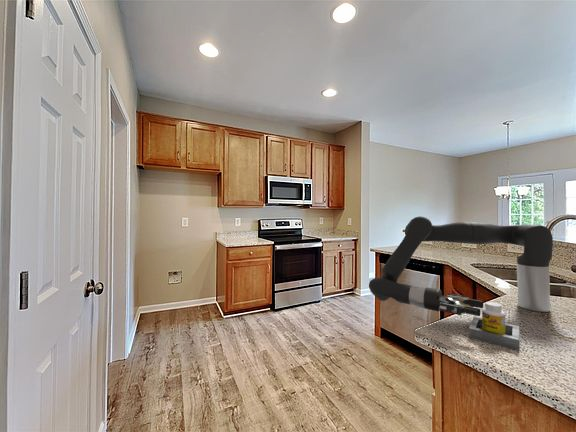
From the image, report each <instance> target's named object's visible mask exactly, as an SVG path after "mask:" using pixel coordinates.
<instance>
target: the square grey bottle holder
mask: <svg viewBox="0 0 576 432" xmlns="http://www.w3.org/2000/svg"><path fill="white" fill-rule="evenodd" d="M468 338H469V339H472V340H475V341H480V342H482V343H488V344H491V345H496V346H499V347H503V348H507V349H511V350H515V351H518V352H519V351H520V350H521V349H520V326H519V325H516V324H510V323H506V322H505V335H504V334H500V333H495V332H491V331H487V330H482V317H478V316H473V318H472V320H471V322H470V325H469V327H468Z"/></svg>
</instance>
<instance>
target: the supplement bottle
mask: <svg viewBox="0 0 576 432" xmlns="http://www.w3.org/2000/svg"><path fill="white" fill-rule="evenodd" d="M502 305H503V304H500V303H498V302H494V301H486V302H485V303H484V307H483V308H481V309H482V310H481V313H482V314H481V316H482V317H481V318H482V330H487V331H491V332H495V333H500V334H504V335H506V334H505V323H506V312H504V311H503V306H502Z"/></svg>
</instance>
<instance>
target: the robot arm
mask: <svg viewBox="0 0 576 432" xmlns="http://www.w3.org/2000/svg"><path fill="white" fill-rule="evenodd" d="M424 242H445V243H457V244H459V243H460V244H469V245H472V244H473V245H487V244H489V245H490V244H495V243H496V244H498V243H499V244H500V243H501V244H507V245H515V246H521V247H523V253H522V254H521V255H519V256H518V255H517V258H516V267H517V268H516V270H517V271H516V274H517V277H516V278H517V282H516V283H517V306H518V307H519V308H522V309H525V310H528V311H529V310H530V311H533V312H534V311H535V312H541V313H542V312H543V313H546V312H550V311H551V293H550V292H551V291H550V289H551V288H550V287H551V286H550V262H551V260H552V257H553V248H554V247H553V246H554V245H553V243H554V239H553V234H552V231H551V229H549V228H548V227H546V226H544V225H542V224H529V223H527V224H513V225H512V224H511V225H499V224H492V223H488V222H487V223H486V222H478V221H457V222H451V223H445V224H441V225H440V224H436V225H435V224H433V223H432V221H431V220H430V219H429V218H427V217H425V216H416V217H413V218H412V219H410V221H409V222H408V223H407V225H406V226H405V228H404V237H403V239H402V240H401V242H400V243H399V245H398V246H397V248H395V249H394V251H393V252H392V254H391V255H390V257H389V258H388V259H387V261H386V263H385V264H384V265H383V267H382V269H381V274H382V276H381V277H375V278H372V279H371V280H370V281H369V283H368V288H369V291H370V293H372V295H374V297H375V298H376V299H377V300H379V301H381V302H385V301H387V300H389V299H390V298H391V299H393V300H394V301H396V302H398V303H401V304H405V305H410V306H414V307H417V308H420V309H424V310H425V309H426V310H430V311H434V312H444V313H449V314H453V315H457V316H462V315H465V314H466V315H472V316H475V317H480V316H481V309H483V308H484V301H482V300H478V299H474V298H473V299H471V298H469V297H468V295H462V294H455V293H450V292H448V293H447V295H443V293H442V290H441V289H439V288H433V287H428V286H426V287H425V286H422V285H420V286H419V285H410V284H405V283H400V282H398V280H399V278H400V276H402V273H403V272H404V270H405V268H406V267H407V265H408V263H409V262H410V260H411V259H412V257H413V255H414V254H415V252H416V250H417V249H418V248H419V246H420V245H421V243H424Z"/></svg>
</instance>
